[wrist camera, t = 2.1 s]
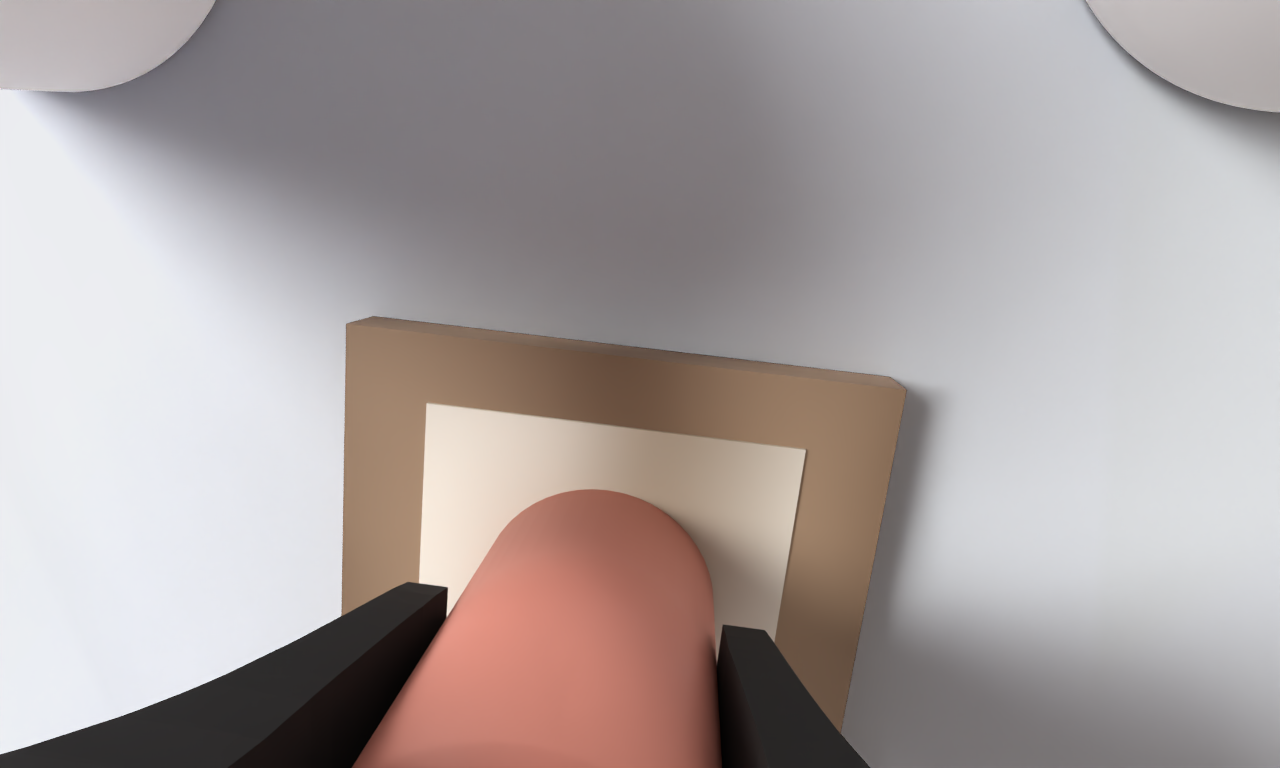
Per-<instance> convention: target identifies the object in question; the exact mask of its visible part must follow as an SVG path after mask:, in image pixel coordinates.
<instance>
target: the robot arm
mask: <svg viewBox="0 0 1280 768" xmlns="http://www.w3.org/2000/svg"><path fill="white" fill-rule="evenodd" d="M447 598H448V587H443V586H436V585H428V584H421V583H414V582H406V583H404V584H402V585H399V586H397V587H395V588H393V589H391V590H389V591H387V592H385V593H383V594H382V595H380V596H378V597H376V598H374V599H372V600H370V601H369V602H367V603H365V604H363V605H361V606H359V607H358V608H356V609H354V610H352V611H350V612H348V613H347V614H345V615H343V616H341V617H339V618H337V619H335V620H334V621H332V622H330V623H328V624H326V625H324V626H322V627H320V628H319V629H317V630H315V631H313V632H311V633H309V634H307V635H306V636H304V637H302V638H300V639H298V640H296V641H294V642H292V643H290V644H288V645H286V646H284V647H282V648H280V649H278V650H275V651H273V652H271V653H269V654H267V655H265V656H263V657H261V658H259V659H257V660H255V661H253V662H251V663H249V664H247V665H244V666H242V667H240V668H238V669H236V670H234V671H232V672H230V673H228V674H226V675H223V676H221V677H219V678H217V679H214V680H212V681H210V682H208V683H205V684H203V685H200V686H198V687H196V688H193V689H191V690H189V691H186V692H184V693H181V694H179V695H176V696H174V697H171V698H168V699H166V700H163V701H161V702H158V703H156V704H153V705H150V706H148V707H145V708H143V709H140V710H137V711H135V712H132V713H129V714H126V715H124V716H121V717H118V718H115V719H112V720H109V721H106V722H103V723H99V724H96V725H93V726H90V727H87V728H84V729H81V730H78V731H75V732H72V733H69V734H66V735H62V736H59V737H56V738H53V739H50V740H47V741H44V742H41V743H38V744H35V745H32V746H29V747H25V748H22V749H18V750H15V751H11V752H8V753H4V754H1V755H0V768H352V767H353V765H354V763H355V762H356V760H357V759H358V757H359V756H360V754H361V752H362V751H363V749H364V748H365V746H366V744H367V743H368V741H369V740H370V738H371V737H372V735H373V733H374V732H375V730H376V729H377V727H378V725H379V724H380V722H381V721H382V719H383V718H384V716H385V714H386V713H387V711H388V710H389V708H390V706H391V705H392V703H393V702H394V700H395V699H396V697H397V695H398V694H399V692H400V691H401V689H402V687H403V686H404V684H405V683H406V681H407V680H408V678H409V676H410V675H411V673H412V672H413V670H414V669H415V667H416V665H417V664H418V662H419V661H420V659H421V657H422V656H423V654H424V653H425V651H426V650H427V648H428V646H429V645H430V643H431V642H432V640H433V638H434V637H435V635H436V634H437V632H438V631H439V629H440V627H441V626H442V624H443V623H444V621H445V619H446V618H447ZM717 681H718V701H719V719H720V737H721V756H722V768H870V767H869V766H868V765H867V764H866V762H865V761H864V760H863V759H862V758H861V757H860V756H859V755H858V753H857V752H856V751H855V750H854V749H853V748H852V747H851V745H850V744H849V743H848V742H847V741H846V740H845V738H844V737H843V736H842V735H841V734H840V732H839V731H838V730H837V729H836V727H835V726H834V725H833V723H832V722H831V721H830V720H829V718H828V717H827V716H826V714H825V713H824V712H823V711H822V709H821V708H820V707H819V705H818V704H817V703H816V701H815V700H814V699H813V697H812V696H811V695H810V693H809V692H808V691H807V689H806V688H805V686H804V685H803V684H802V682H801V681H800V679H799V678H798V676H797V675H796V674H795V672H794V671H793V669H792V668H791V666H790V665H789V664H788V662H787V661H786V659H785V658H784V656H783V655H782V653H781V652H780V650H779V649H778V647H777V646H776V645H775V643H774V642H773V640H772V639H771V637H770V636H769V635H768V633H767V632H766V631H765V630H761V629H754V628H746V627H739V626H732V625H724V624H723V626H722V633H721V640H720V646H719V653H718V660H717Z"/></svg>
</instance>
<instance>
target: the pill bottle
mask: <svg viewBox="0 0 1280 768" xmlns="http://www.w3.org/2000/svg"><path fill="white" fill-rule="evenodd" d="M1086 2H1087V3H1088V5H1089V7H1090V8H1091V10H1092V11H1093V13H1094V14H1095V16H1096V17H1097V18H1098V20H1099V21H1100V23H1101V24H1102V25H1103V26H1104V28H1105V29H1106V30H1107V31H1108V32H1109V34H1110V35H1111V36H1112V37H1113V38H1114V39H1115V40H1116V41H1117V42H1118V43H1119V44H1120V45H1121V46H1122V47H1123V48H1124V49H1125V50H1126V51H1127V52H1128V53H1129V54H1130V55H1131V56H1133V57H1134V58H1135V59H1136V60H1137V61H1139V62H1140V63H1141V64H1143V65H1144V66H1145V67H1147V68H1148V69H1149V70H1151V71H1152V72H1154V73H1155V74H1157V75H1158V76H1160V77H1162V78H1163V79H1165V80H1167V81H1169V82H1170V83H1172V84H1174V85H1176V86H1178V87H1180V88H1182V89H1184V90H1187V91H1189V92H1191V93H1194V94H1196V95H1199V96H1201V97H1204V98H1207V99H1210V100H1213V101H1216V102H1220V103H1223V104H1227V105H1231V106H1236V107H1241V108H1246V109H1252V110H1259V111H1268V112H1280V0H1086Z"/></svg>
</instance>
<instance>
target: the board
mask: <svg viewBox="0 0 1280 768" xmlns="http://www.w3.org/2000/svg"><path fill="white" fill-rule="evenodd" d="M906 391H907V390H906V389H905V388H904V387H902V386H901V385H900V384H898V383H897V382H896V381H895V380H893V379H892V378H891V377H886V376H878V375H869V374H861V373H852V372H844V371H835V370H827V369H818V368H810V367H801V366H793V365H784V364H776V363H767V362H759V361H750V360H742V359H733V358H725V357H716V356H707V355H699V354H690V353H682V352H673V351H665V350H656V349H648V348H639V347H631V346H622V345H614V344H605V343H597V342H588V341H580V340H571V339H563V338H554V337H546V336H537V335H529V334H520V333H511V332H503V331H494V330H486V329H477V328H469V327H460V326H452V325H443V324H435V323H426V322H418V321H409V320H401V319H392V318H384V317H375V316H372V317H369V318H365V319H361V320H358V321H354V322H351V323H347V324H346V373H345V435H344V497H343V559H342V616H343V615H345V614H347V613H348V612H350V611H352V610H354V609H356V608H358V607H359V606H361V605H363V604H365V603H367V602H369V601H370V600H372V599H374V598H376V597H378V596H380V595H382V594H383V593H385V592H387V591H389V590H391V589H393V588H395V587H397V586H399V585H402V584H404V583H406V582H414V583H421V584H428V585H436V586H443V587H448V598H447V616H448V615H449V613H450V612H451V610H452V608H453V607H454V605H455V604H456V602H457V600H458V599H459V597H460V596H461V594H462V593H463V591H464V589H465V588H466V586H467V585H468V583H469V582H470V580H471V578H472V577H473V575H474V574H475V572H476V570H477V569H478V567H479V566H480V564H481V563H482V561H483V559H484V558H485V556H486V555H487V553H488V551H489V550H490V548H491V547H492V545H493V544H494V542H495V540H496V539H497V537H498V536H499V534H500V533H501V531H502V530H503V529H504V528H505V527H506V526H507V524H508V523H509V522H510V521H511V520H512V519H513V518H515V517H516V516H517V515H518V514H519V513H520V512H522V511H523V510H525V509H526V508H528V507H529V506H531V505H532V504H534V503H536V502H538V501H540V500H543V499H545V498H547V497H550V496H553V495H556V494H559V493H563V492H568V491H574V490H585V489H598V490H609V491H614V492H620V493H624V494H627V495H630V496H633V497H637V498H639V499H641V500H643V501H646V502H648V503H650V504H652V505H654V506H655V507H657V508H659V509H660V510H662V511H663V512H665V513H666V514H668V515H669V516H670V517H671V518H672V519H674V520H675V521H676V522H677V523H678V524H679V525H680V526H681V527H682V528H683V529H684V530H685V531H686V532H687V533H688V534H689V536H690V537H691V538H692V540H693V541H694V543H695V544H696V545H697V547H698V549H699V551H700V552H701V554H702V556H703V558H704V560H705V563H706V566H707V568H708V571H709V574H710V578H711V583H712V588H713V602H714V621H715V640H716V660H718V653H719V646H720V640H721V633H722V626H723V624H724V625H732V626H739V627H746V628H754V629H761V630H765V631H766V632H767V633H768V635H769V636H770V637H771V639H772V640H773V642H774V643H775V645H776V646H777V647H778V649H779V650H780V652H781V653H782V655H783V656H784V658H785V659H786V661H787V662H788V664H789V665H790V666H791V668H792V669H793V671H794V672H795V674H796V675H797V676H798V678H799V679H800V681H801V682H802V684H803V685H804V686H805V688H806V689H807V691H808V692H809V693H810V695H811V696H812V697H813V699H814V700H815V701H816V703H817V704H818V705H819V707H820V708H821V709H822V711H823V712H824V713H825V714H826V716H827V717H828V718H829V720H830V721H831V722H832V723H833V725H834V726H835V727H836V729H837V730H838V731H839V732H840V733H841V728H842V723H843V718H844V713H845V707H846V702H847V697H848V692H849V687H850V682H851V676H852V671H853V666H854V661H855V656H856V650H857V645H858V640H859V635H860V630H861V625H862V619H863V614H864V609H865V604H866V599H867V593H868V588H869V583H870V578H871V573H872V568H873V562H874V557H875V552H876V547H877V542H878V536H879V531H880V526H881V521H882V516H883V511H884V505H885V500H886V495H887V490H888V485H889V479H890V474H891V469H892V464H893V459H894V454H895V448H896V443H897V438H898V433H899V428H900V423H901V417H902V412H903V407H904V402H905V397H906Z"/></svg>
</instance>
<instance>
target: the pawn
mask: <svg viewBox="0 0 1280 768" xmlns="http://www.w3.org/2000/svg"><path fill="white" fill-rule="evenodd" d="M352 768H722V756H721V737H720V719H719V701H718V681H717V660H716V640H715V621H714V602H713V588H712V583H711V578H710V574H709V571H708V568H707V566H706V563H705V560H704V558H703V556H702V554H701V552H700V551H699V549H698V547H697V545H696V544H695V543H694V541H693V540H692V538H691V537H690V536H689V534H688V533H687V532H686V531H685V530H684V529H683V528H682V527H681V526H680V525H679V524H678V523H677V522H676V521H675V520H674V519H672V518H671V517H670V516H669V515H668V514H666V513H665V512H663V511H662V510H660V509H659V508H657V507H655V506H654V505H652V504H650V503H648V502H646V501H643V500H641V499H639V498H637V497H633V496H630V495H627V494H624V493H620V492H614V491H609V490H598V489H585V490H574V491H568V492H563V493H559V494H556V495H553V496H550V497H547V498H545V499H543V500H540V501H538V502H536V503H534V504H532V505H531V506H529V507H528V508H526V509H525V510H523V511H522V512H520V513H519V514H518V515H517V516H516V517H515V518H513V519H512V520H511V521H510V522H509V523H508V524H507V526H506V527H505V528H504V529H503V530H502V531H501V533H500V534H499V536H498V537H497V539H496V540H495V542H494V544H493V545H492V547H491V548H490V550H489V551H488V553H487V555H486V556H485V558H484V559H483V561H482V563H481V564H480V566H479V567H478V569H477V570H476V572H475V574H474V575H473V577H472V578H471V580H470V582H469V583H468V585H467V586H466V588H465V589H464V591H463V593H462V594H461V596H460V597H459V599H458V600H457V602H456V604H455V605H454V607H453V608H452V610H451V612H450V613H449V615H448V616H447V618H446V619H445V621H444V623H443V624H442V626H441V627H440V629H439V631H438V632H437V634H436V635H435V637H434V638H433V640H432V642H431V643H430V645H429V646H428V648H427V650H426V651H425V653H424V654H423V656H422V657H421V659H420V661H419V662H418V664H417V665H416V667H415V669H414V670H413V672H412V673H411V675H410V676H409V678H408V680H407V681H406V683H405V684H404V686H403V687H402V689H401V691H400V692H399V694H398V695H397V697H396V699H395V700H394V702H393V703H392V705H391V706H390V708H389V710H388V711H387V713H386V714H385V716H384V718H383V719H382V721H381V722H380V724H379V725H378V727H377V729H376V730H375V732H374V733H373V735H372V737H371V738H370V740H369V741H368V743H367V744H366V746H365V748H364V749H363V751H362V752H361V754H360V756H359V757H358V759H357V760H356V762H355V763H354V765H353V767H352Z"/></svg>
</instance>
